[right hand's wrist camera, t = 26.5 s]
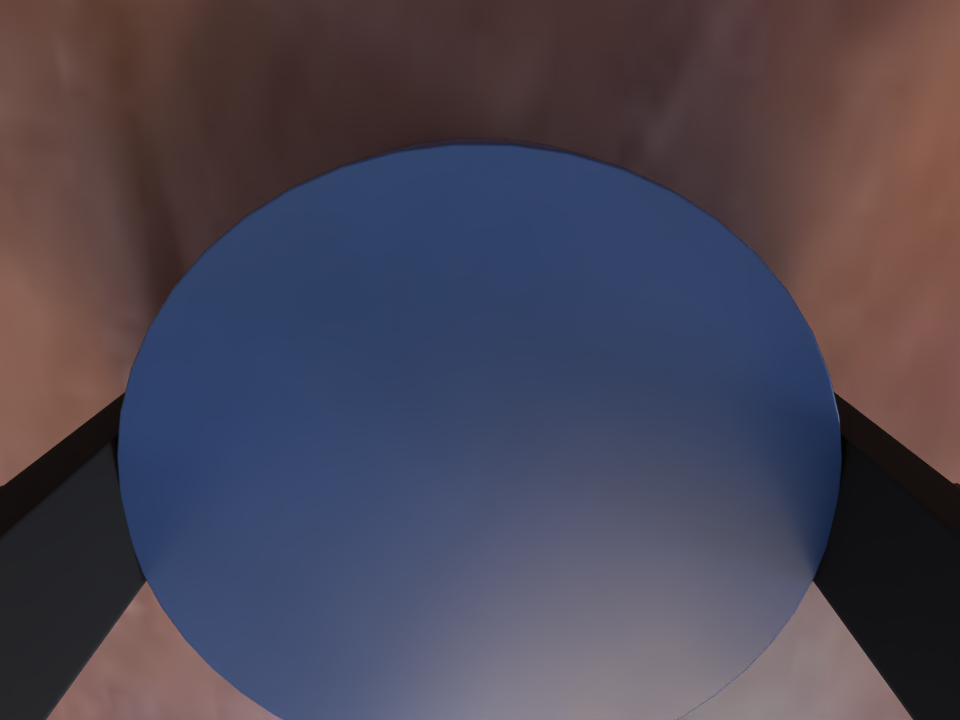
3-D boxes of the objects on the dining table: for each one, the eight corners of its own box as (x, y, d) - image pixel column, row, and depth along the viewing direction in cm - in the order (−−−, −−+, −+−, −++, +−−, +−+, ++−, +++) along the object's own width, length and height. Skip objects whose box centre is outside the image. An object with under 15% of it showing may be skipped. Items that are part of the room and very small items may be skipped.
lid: (518, -29, 9) (530, -73, 7) (886, 474, 13) (972, 549, 10) (59, 420, 12) (-35, 487, 10) (455, 746, 15) (451, 851, 13)
